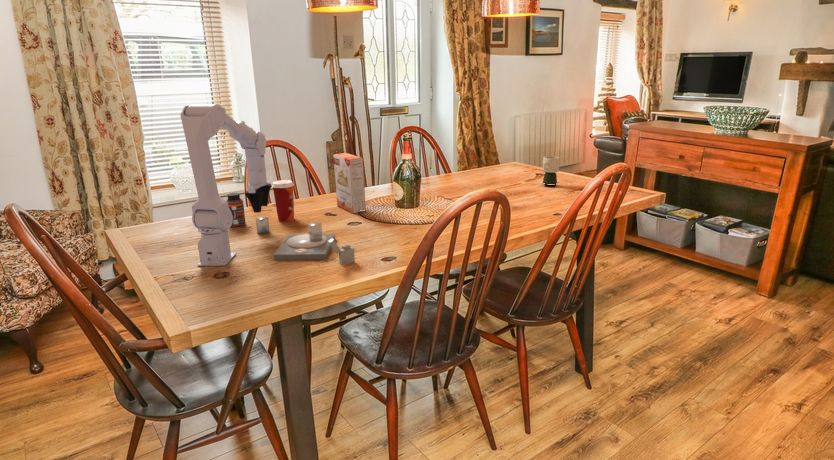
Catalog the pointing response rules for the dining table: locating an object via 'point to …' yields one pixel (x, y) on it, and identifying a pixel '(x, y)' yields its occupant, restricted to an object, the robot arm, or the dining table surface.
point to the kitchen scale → (303, 248)
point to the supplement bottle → (236, 209)
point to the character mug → (550, 169)
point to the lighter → (343, 252)
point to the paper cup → (284, 199)
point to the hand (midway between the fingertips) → (261, 209)
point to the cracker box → (349, 182)
